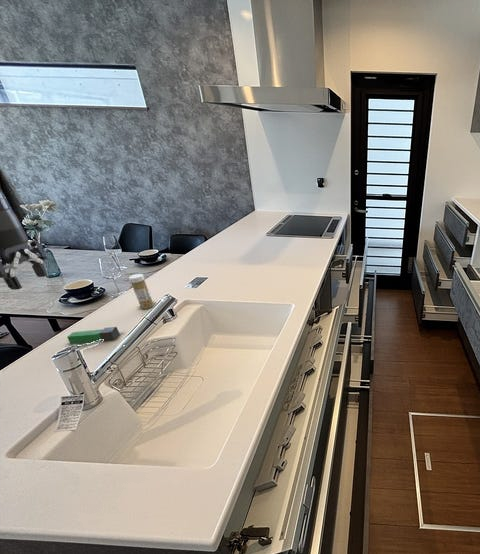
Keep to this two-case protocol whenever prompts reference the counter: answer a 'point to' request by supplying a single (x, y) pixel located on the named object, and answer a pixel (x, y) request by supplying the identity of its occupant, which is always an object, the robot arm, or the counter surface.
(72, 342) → the marker
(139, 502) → the counter surface
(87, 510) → the counter surface
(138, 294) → the sprinkles bottle
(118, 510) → the counter surface
